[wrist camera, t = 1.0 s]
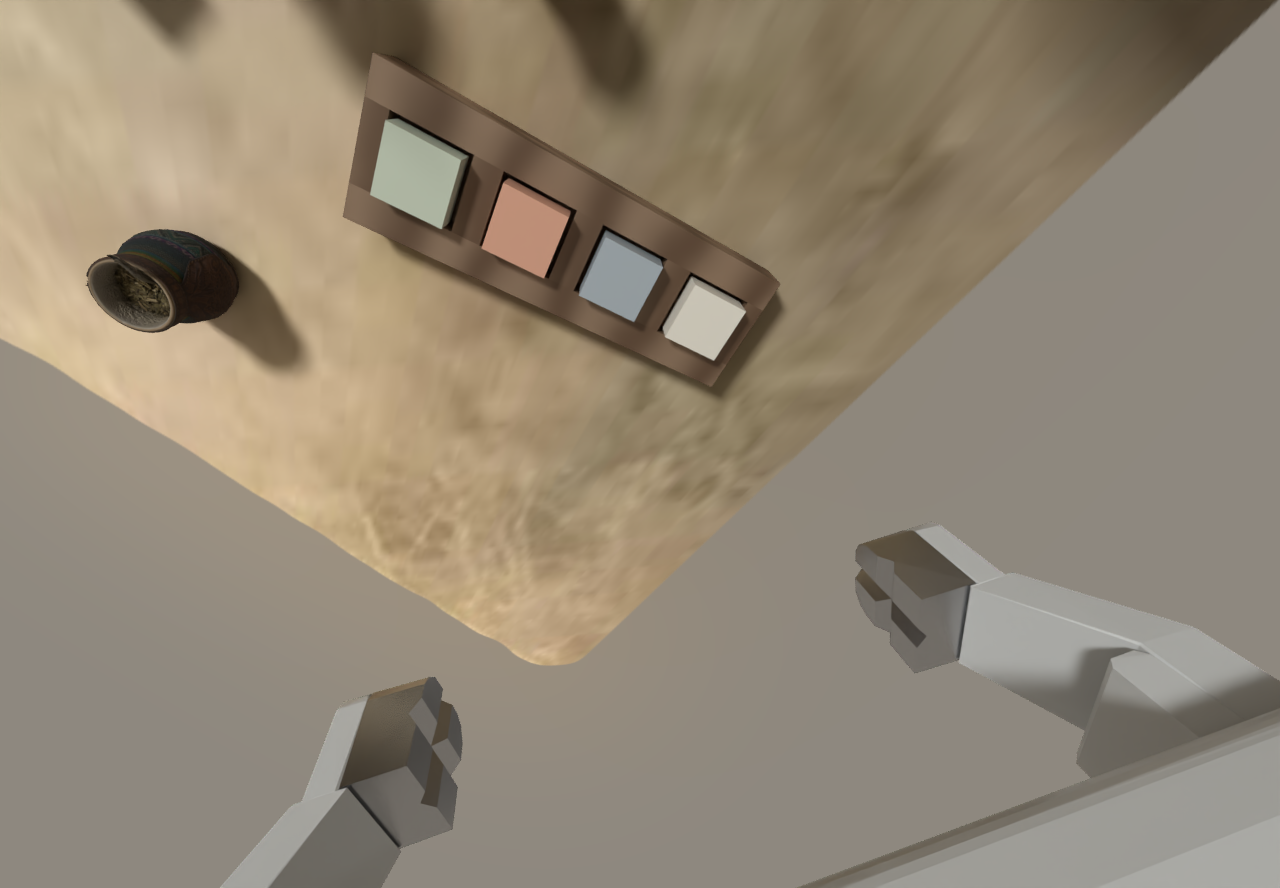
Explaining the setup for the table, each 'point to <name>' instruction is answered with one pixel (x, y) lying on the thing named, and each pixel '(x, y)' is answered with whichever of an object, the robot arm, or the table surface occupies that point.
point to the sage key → (418, 173)
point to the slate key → (620, 276)
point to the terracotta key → (525, 228)
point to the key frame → (564, 182)
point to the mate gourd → (163, 281)
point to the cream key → (703, 318)
